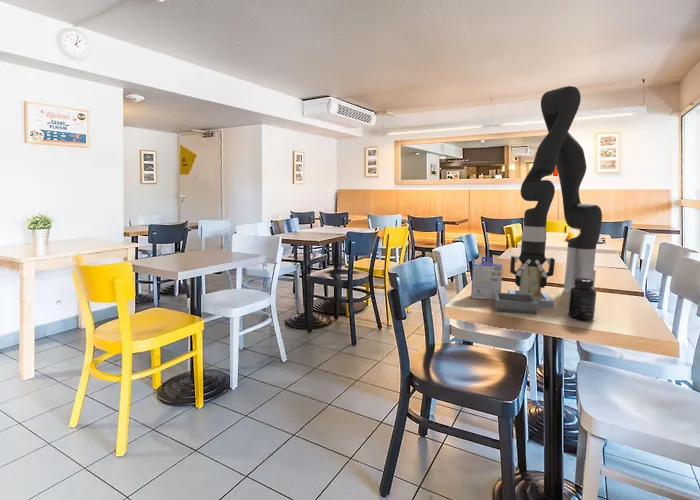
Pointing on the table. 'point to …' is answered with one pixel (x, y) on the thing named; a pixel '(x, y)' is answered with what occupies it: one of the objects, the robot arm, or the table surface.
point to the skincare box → (530, 281)
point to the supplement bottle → (582, 300)
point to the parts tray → (515, 303)
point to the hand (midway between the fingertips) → (530, 286)
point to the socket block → (544, 301)
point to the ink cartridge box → (486, 279)
